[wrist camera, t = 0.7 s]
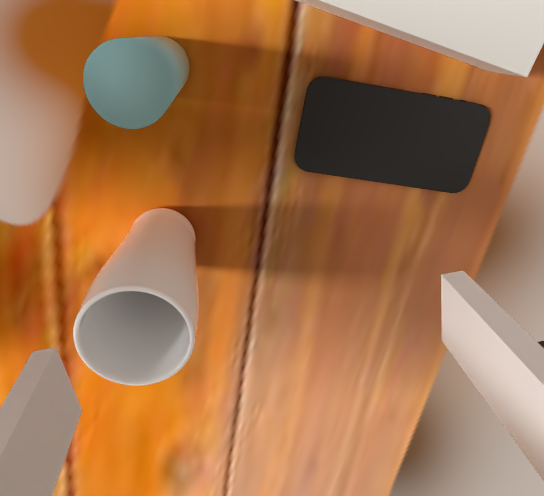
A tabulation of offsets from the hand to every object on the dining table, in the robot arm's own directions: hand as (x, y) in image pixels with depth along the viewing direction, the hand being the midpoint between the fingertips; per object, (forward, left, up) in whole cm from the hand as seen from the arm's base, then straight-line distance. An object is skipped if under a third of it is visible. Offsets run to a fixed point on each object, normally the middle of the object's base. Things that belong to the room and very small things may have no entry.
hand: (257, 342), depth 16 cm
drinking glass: (-4, -7, -25) cm, 26 cm away
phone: (+11, +6, -25) cm, 28 cm away
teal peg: (-7, +6, -24) cm, 26 cm away
